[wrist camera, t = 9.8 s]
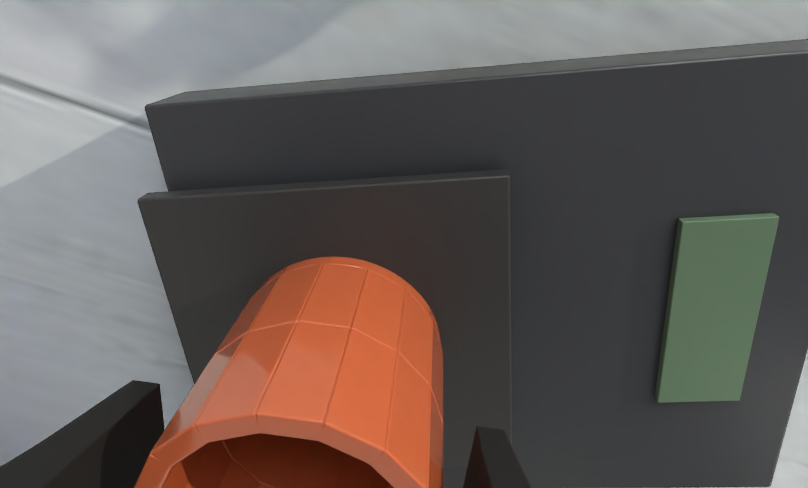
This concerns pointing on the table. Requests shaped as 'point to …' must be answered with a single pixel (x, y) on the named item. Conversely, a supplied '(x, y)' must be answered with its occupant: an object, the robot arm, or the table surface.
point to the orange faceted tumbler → (315, 389)
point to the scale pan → (361, 239)
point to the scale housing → (586, 235)
